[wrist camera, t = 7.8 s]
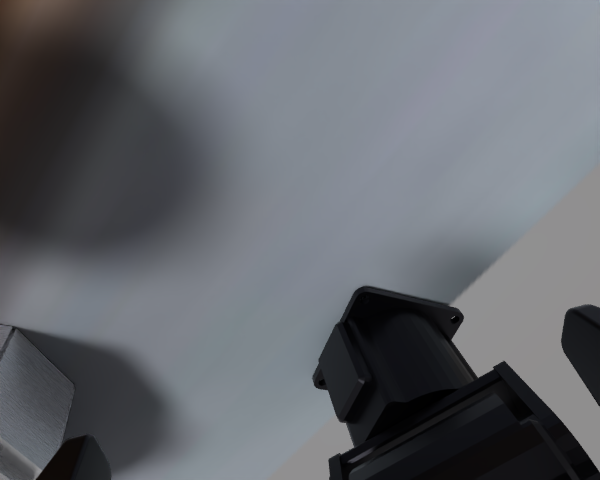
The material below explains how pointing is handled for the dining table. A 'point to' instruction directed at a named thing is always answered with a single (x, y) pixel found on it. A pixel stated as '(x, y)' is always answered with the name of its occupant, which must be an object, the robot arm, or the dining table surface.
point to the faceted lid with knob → (29, 407)
